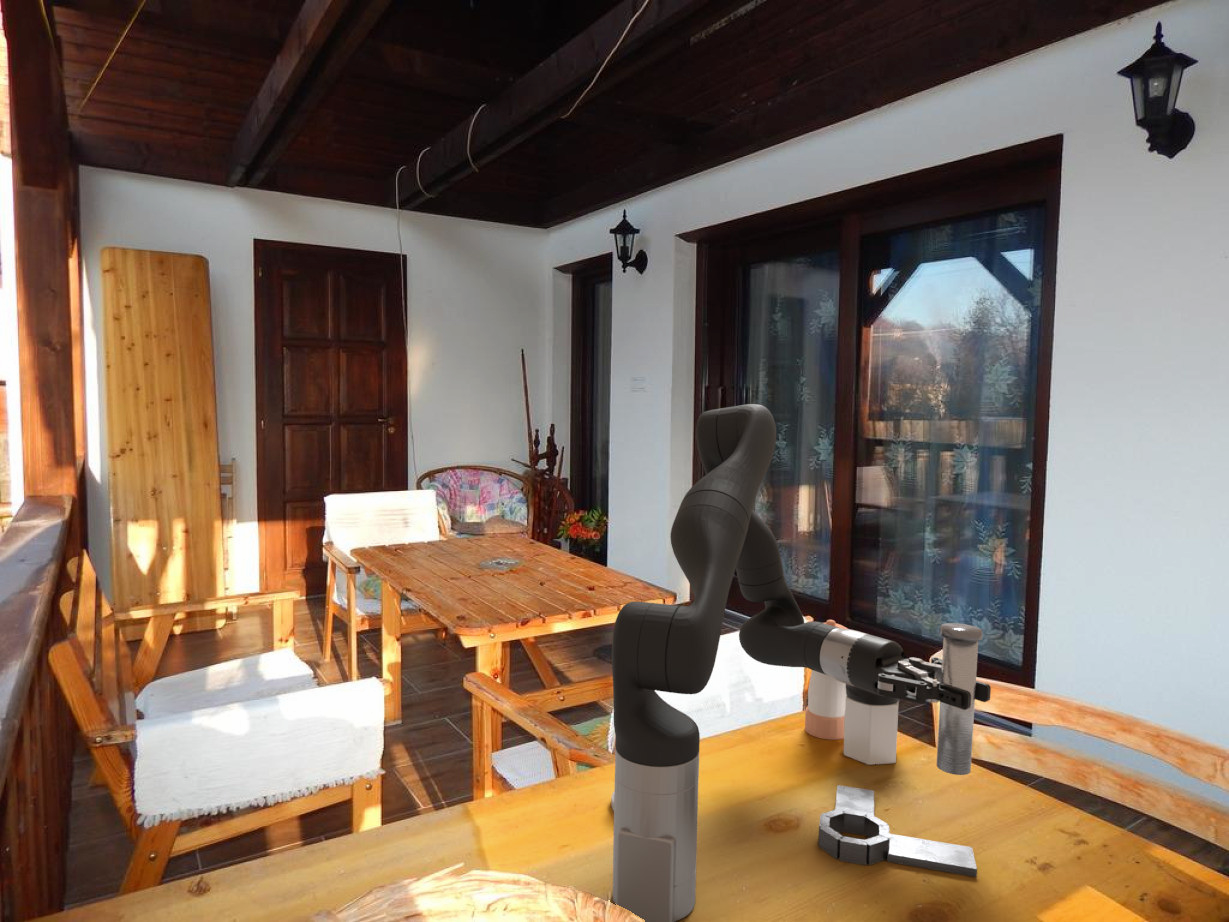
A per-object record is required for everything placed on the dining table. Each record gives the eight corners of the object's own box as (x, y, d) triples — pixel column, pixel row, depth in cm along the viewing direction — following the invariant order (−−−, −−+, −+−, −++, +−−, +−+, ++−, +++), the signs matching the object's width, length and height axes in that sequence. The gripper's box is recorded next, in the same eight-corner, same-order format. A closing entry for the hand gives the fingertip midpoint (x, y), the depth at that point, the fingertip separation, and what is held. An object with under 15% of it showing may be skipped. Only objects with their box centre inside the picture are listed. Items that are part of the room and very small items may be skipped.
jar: (845, 739, 135) (848, 668, 134) (897, 747, 132) (900, 674, 132) (840, 761, 127) (843, 685, 126) (896, 770, 124) (899, 693, 123)
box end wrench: (978, 885, 94) (979, 864, 94) (817, 856, 100) (817, 837, 100) (961, 810, 112) (962, 793, 112) (824, 789, 117) (825, 773, 117)
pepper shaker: (825, 743, 133) (830, 628, 132) (795, 727, 140) (799, 617, 138) (858, 735, 137) (862, 623, 136) (827, 719, 143) (831, 612, 142)
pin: (976, 779, 100) (984, 635, 99) (934, 772, 102) (942, 631, 100) (971, 762, 105) (979, 625, 103) (931, 757, 106) (939, 621, 105)
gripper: (830, 642, 109) (949, 678, 96) (892, 626, 118) (1010, 657, 104) (827, 696, 110) (946, 740, 96) (890, 677, 118) (1006, 714, 105)
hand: (978, 697), depth 100 cm, fingers closed on pin, 4 cm apart
